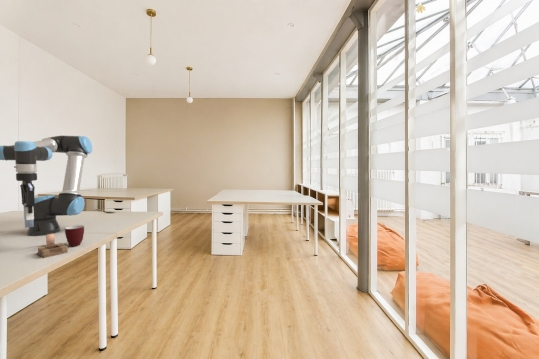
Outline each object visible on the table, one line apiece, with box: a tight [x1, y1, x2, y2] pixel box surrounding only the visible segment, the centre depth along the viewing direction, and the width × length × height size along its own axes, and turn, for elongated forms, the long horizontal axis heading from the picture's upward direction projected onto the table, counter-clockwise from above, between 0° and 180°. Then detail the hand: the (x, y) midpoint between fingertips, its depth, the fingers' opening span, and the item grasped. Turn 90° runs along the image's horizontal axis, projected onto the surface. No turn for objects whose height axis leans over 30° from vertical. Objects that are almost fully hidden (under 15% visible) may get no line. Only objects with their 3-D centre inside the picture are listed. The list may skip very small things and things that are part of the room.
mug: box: [64, 224, 85, 247], centre depth 135 cm, size 10×8×10 cm
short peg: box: [45, 233, 55, 246], centre depth 133 cm, size 3×3×6 cm
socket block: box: [37, 242, 69, 258], centre depth 122 cm, size 9×9×3 cm
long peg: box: [23, 203, 34, 229], centre depth 126 cm, size 3×3×12 cm
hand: (29, 218), depth 126 cm, fingers closed on long peg, 3 cm apart
